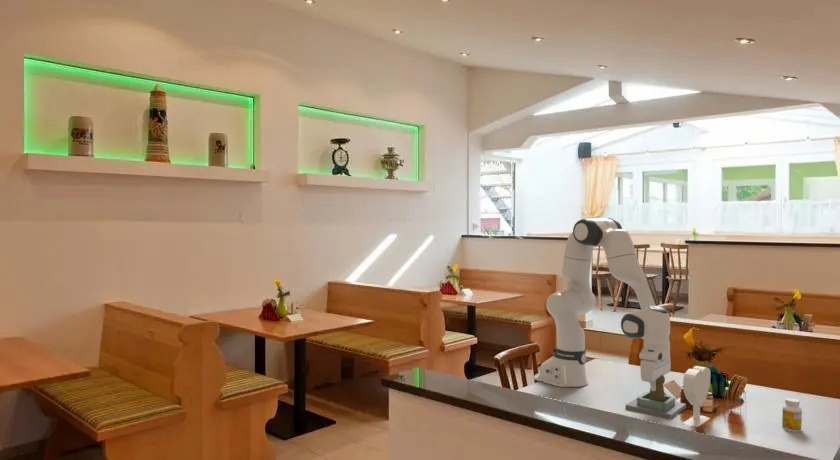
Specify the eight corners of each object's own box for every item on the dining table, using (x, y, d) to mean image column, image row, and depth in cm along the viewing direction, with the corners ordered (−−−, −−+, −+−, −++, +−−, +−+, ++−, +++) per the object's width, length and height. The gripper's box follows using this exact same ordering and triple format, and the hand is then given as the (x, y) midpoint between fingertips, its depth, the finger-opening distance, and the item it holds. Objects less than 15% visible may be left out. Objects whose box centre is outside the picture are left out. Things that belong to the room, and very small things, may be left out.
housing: (625, 409, 216) (625, 398, 216) (642, 398, 228) (642, 388, 228) (670, 419, 206) (671, 407, 206) (686, 407, 218) (686, 397, 218)
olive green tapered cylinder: (666, 407, 213) (667, 377, 213) (648, 406, 215) (649, 375, 215) (664, 402, 219) (665, 373, 219) (647, 401, 221) (647, 371, 220)
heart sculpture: (697, 413, 212) (698, 363, 211) (712, 417, 208) (713, 365, 208) (680, 424, 201) (681, 371, 200) (695, 428, 197) (696, 374, 197)
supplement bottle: (778, 426, 199) (778, 397, 199) (793, 426, 200) (794, 397, 199) (789, 432, 194) (790, 402, 194) (805, 431, 194) (805, 402, 194)
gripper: (658, 345, 226) (657, 381, 227) (637, 354, 211) (636, 393, 211) (675, 347, 222) (674, 384, 223) (655, 357, 207) (654, 397, 207)
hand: (656, 389), depth 217 cm, fingers closed on olive green tapered cylinder, 3 cm apart
